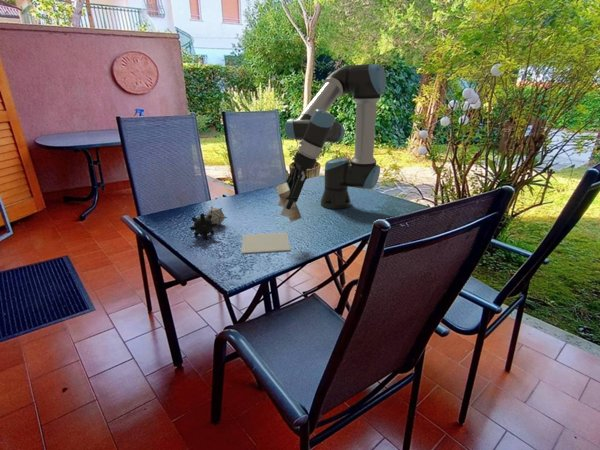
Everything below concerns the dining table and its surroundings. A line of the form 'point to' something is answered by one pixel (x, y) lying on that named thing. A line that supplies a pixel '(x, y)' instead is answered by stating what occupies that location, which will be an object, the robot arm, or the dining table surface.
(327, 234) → the dining table surface
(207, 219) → the toy ball
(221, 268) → the dining table surface
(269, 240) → the mat
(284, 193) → the green and tan block
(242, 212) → the dining table surface
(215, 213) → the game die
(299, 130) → the robot arm
